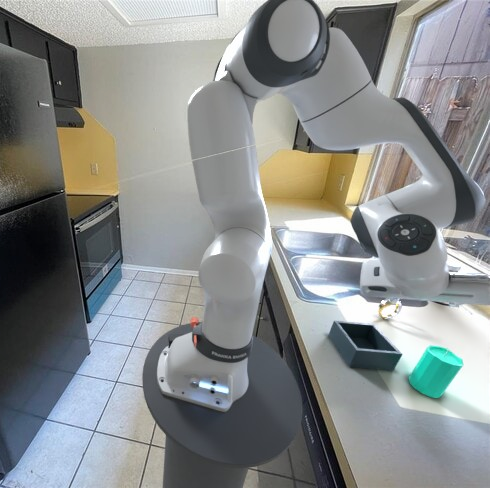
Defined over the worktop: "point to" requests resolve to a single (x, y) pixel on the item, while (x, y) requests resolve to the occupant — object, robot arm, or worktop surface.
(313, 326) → the worktop surface
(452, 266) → the sprinkles bottle
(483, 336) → the worktop surface
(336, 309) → the worktop surface
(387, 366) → the bin
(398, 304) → the ring
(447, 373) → the candle
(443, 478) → the worktop surface
